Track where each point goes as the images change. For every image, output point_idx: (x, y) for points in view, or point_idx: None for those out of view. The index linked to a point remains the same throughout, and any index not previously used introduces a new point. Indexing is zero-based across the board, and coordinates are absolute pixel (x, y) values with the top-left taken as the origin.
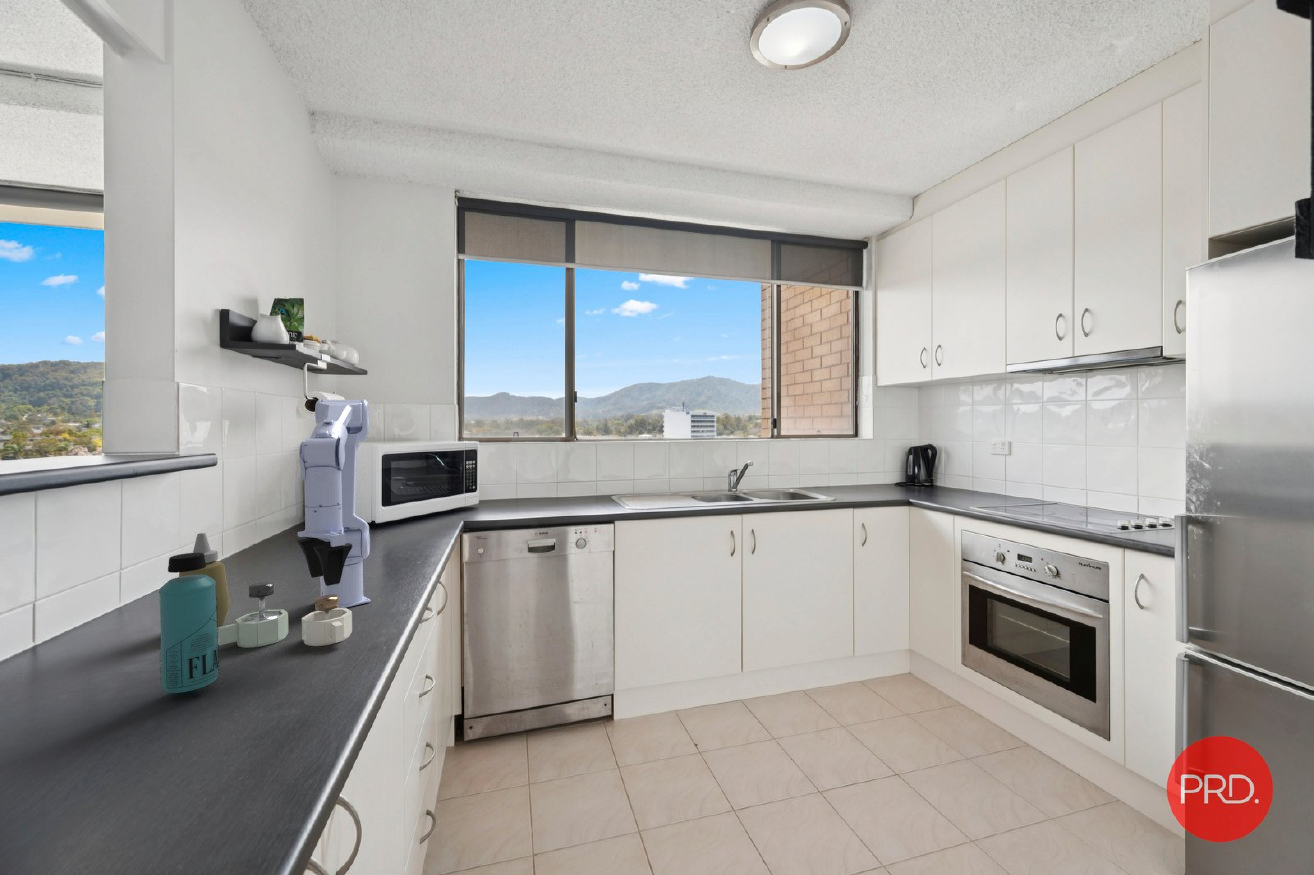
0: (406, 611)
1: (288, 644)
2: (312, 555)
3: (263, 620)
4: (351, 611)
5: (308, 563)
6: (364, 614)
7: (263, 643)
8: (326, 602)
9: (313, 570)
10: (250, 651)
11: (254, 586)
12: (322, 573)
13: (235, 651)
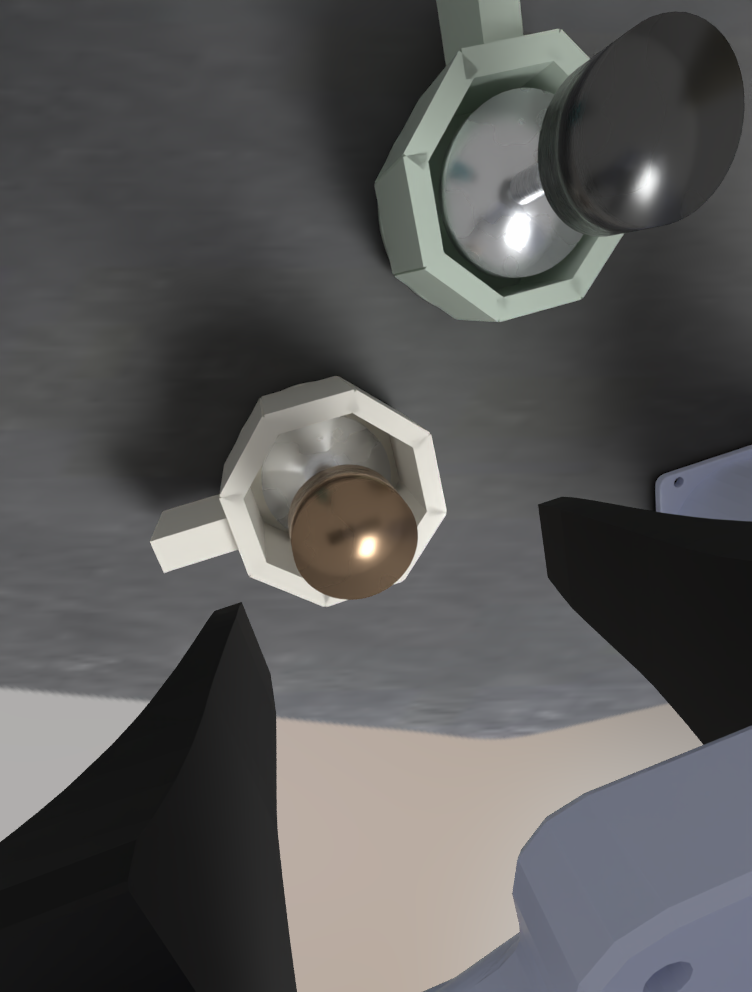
0: (470, 719)
1: (336, 319)
2: (678, 592)
3: (457, 193)
4: (329, 605)
5: (625, 524)
6: (534, 591)
7: (379, 211)
8: (291, 538)
9: (573, 532)
10: (336, 153)
11: (641, 62)
12: (554, 573)
13: (378, 83)
